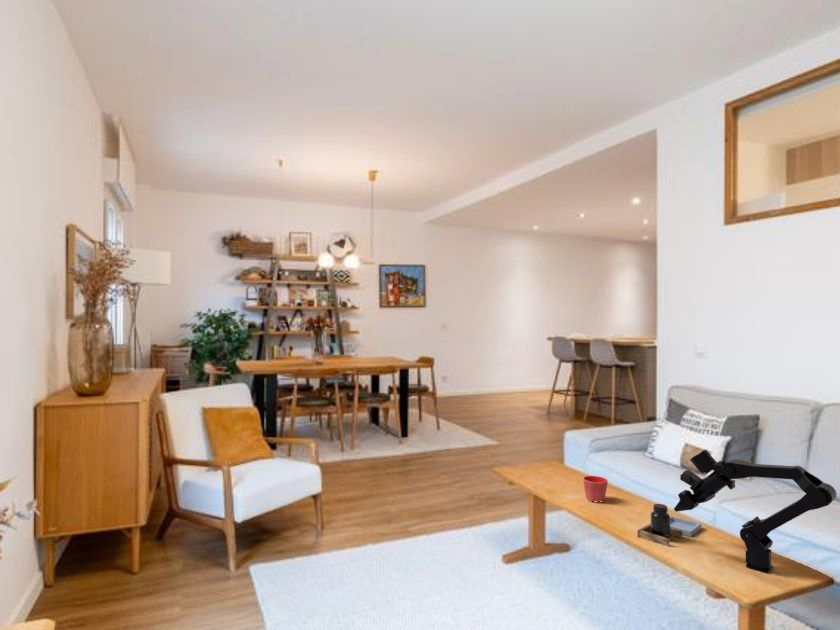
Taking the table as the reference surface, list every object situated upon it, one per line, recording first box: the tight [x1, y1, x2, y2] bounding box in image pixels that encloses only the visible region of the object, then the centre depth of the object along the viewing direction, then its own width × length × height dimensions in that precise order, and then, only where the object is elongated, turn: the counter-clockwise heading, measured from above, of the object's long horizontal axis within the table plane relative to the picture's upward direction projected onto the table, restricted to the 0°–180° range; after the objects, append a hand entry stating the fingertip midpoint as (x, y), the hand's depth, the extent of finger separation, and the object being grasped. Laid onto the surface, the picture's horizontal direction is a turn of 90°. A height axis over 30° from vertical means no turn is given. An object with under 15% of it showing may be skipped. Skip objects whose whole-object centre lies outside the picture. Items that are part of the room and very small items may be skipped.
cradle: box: [637, 523, 683, 547], centre depth 203 cm, size 12×12×2 cm
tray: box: [670, 515, 703, 538], centre depth 211 cm, size 12×12×2 cm
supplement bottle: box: [650, 503, 671, 540], centre depth 203 cm, size 7×7×12 cm
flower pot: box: [582, 475, 609, 503], centre depth 246 cm, size 11×11×10 cm
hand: (680, 507), depth 197 cm, fingers open, 9 cm apart
